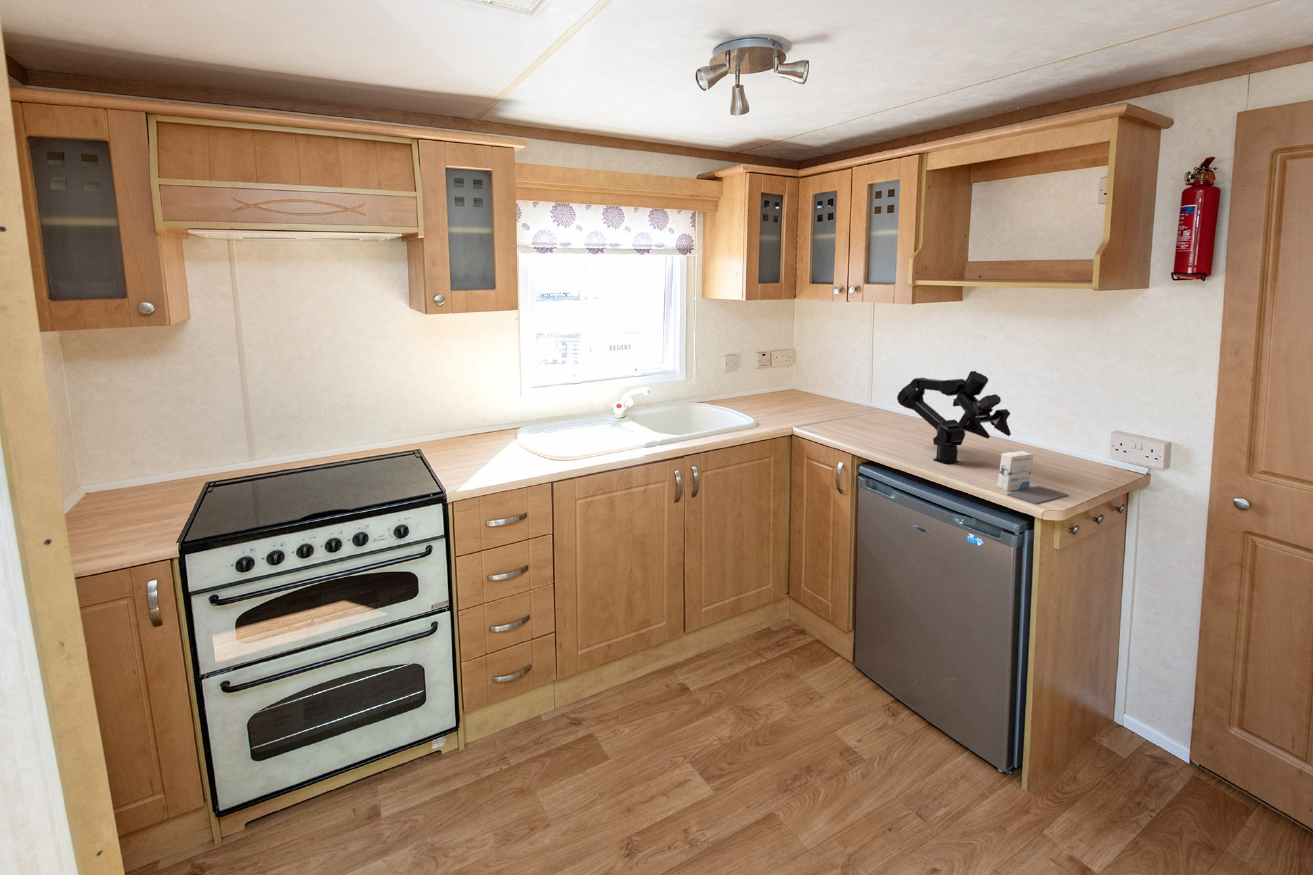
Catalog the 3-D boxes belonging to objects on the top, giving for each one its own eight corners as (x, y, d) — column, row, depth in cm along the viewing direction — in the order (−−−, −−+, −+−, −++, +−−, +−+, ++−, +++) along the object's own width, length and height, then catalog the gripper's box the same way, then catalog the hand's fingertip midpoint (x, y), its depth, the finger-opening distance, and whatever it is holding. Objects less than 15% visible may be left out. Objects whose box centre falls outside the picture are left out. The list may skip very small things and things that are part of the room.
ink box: (1018, 484, 240) (1022, 450, 237) (1029, 489, 236) (1034, 454, 233) (996, 487, 238) (1000, 452, 235) (1007, 491, 233) (1012, 456, 230)
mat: (1006, 494, 230) (1006, 493, 230) (1038, 487, 238) (1038, 485, 237) (1035, 504, 222) (1035, 503, 222) (1068, 495, 229) (1068, 494, 229)
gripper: (961, 389, 244) (990, 421, 234) (1003, 385, 251) (1033, 416, 240) (946, 414, 251) (973, 445, 241) (987, 409, 258) (1015, 440, 248)
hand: (999, 436), depth 242 cm, fingers open, 9 cm apart
